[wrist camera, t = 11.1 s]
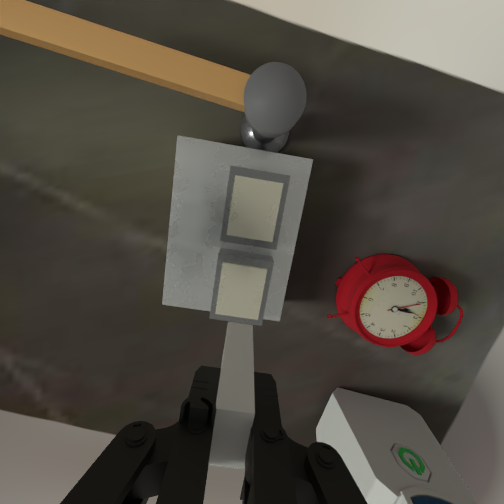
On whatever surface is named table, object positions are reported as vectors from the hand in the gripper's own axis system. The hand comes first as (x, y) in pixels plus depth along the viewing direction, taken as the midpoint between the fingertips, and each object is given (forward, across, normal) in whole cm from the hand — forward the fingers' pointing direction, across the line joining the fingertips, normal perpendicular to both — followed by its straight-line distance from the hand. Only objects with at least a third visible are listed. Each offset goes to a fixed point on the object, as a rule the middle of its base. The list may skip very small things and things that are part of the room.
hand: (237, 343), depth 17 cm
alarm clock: (+16, +18, -1) cm, 24 cm away
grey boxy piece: (+16, -1, +7) cm, 17 cm away
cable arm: (+15, -9, +16) cm, 24 cm away
